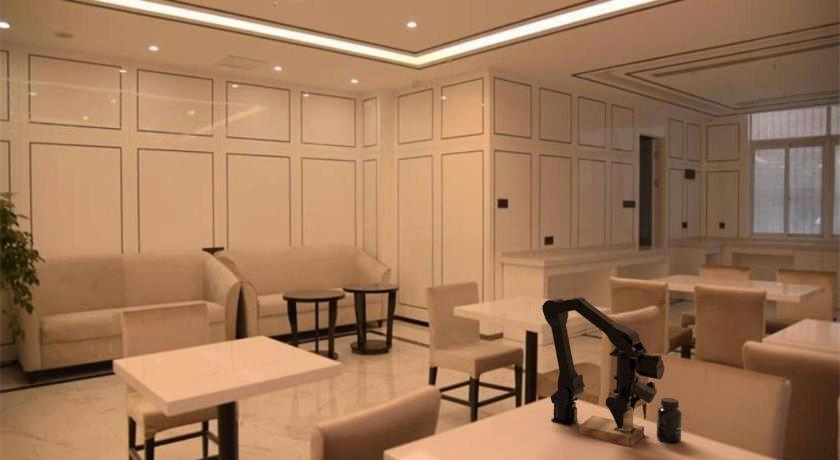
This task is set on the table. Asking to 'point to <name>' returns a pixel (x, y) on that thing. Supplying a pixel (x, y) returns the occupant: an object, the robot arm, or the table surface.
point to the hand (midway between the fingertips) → (624, 423)
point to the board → (610, 431)
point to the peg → (627, 422)
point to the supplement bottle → (669, 421)
